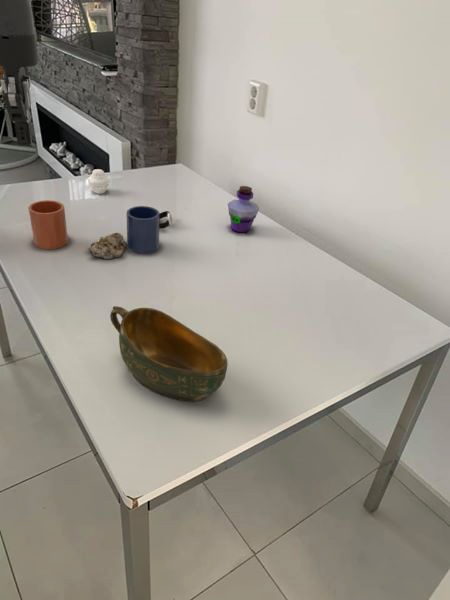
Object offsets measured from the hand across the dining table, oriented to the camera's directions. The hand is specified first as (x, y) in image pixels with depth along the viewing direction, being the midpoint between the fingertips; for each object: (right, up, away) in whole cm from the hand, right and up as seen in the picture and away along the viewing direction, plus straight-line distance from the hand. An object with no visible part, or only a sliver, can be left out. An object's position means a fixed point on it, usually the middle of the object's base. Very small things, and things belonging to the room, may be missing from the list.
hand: (25, 144), depth 78 cm
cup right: (+15, -14, +33) cm, 39 cm away
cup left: (-7, -13, +30) cm, 34 cm away
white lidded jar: (-3, +6, +58) cm, 59 cm away
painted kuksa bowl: (+25, -40, -3) cm, 47 cm away
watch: (+18, -7, +44) cm, 48 cm away
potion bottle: (+39, -8, +47) cm, 61 cm away
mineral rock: (+7, -15, +30) cm, 34 cm away
